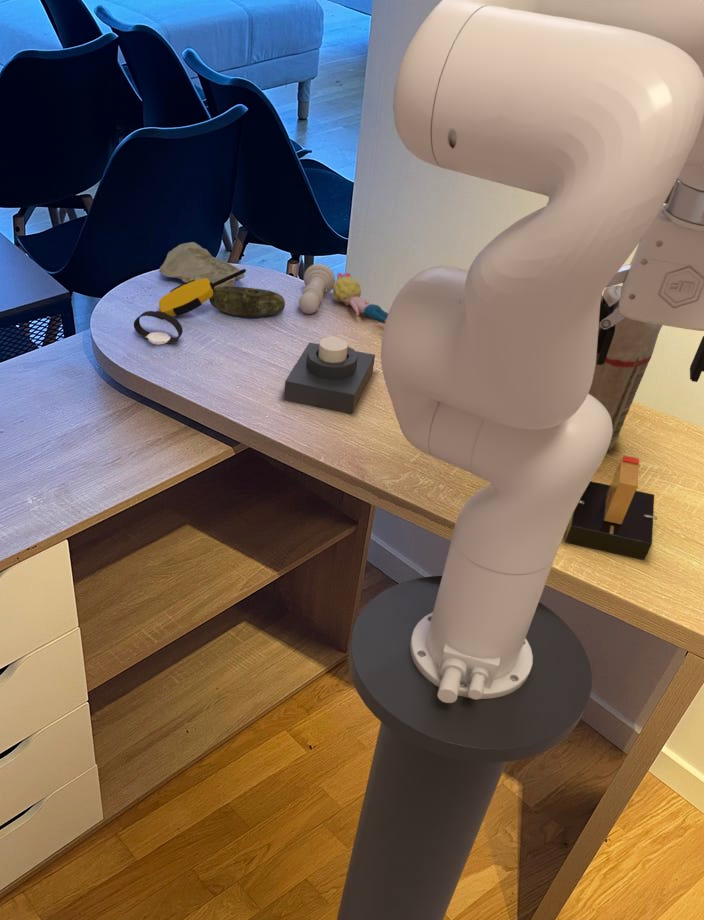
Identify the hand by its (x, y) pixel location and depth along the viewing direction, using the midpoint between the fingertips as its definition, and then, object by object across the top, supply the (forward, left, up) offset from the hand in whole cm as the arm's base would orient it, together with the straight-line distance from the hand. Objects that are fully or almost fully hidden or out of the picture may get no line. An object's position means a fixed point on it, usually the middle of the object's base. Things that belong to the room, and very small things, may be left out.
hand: (646, 367), depth 97 cm
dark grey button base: (+16, +38, -19) cm, 45 cm away
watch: (+21, +66, -16) cm, 71 cm away
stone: (+46, +66, -17) cm, 82 cm away
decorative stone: (+32, +56, -15) cm, 66 cm away
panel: (-3, -2, -19) cm, 19 cm away
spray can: (+16, +2, -19) cm, 25 cm away
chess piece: (+44, +48, -16) cm, 67 cm away
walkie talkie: (+27, +69, -18) cm, 77 cm away
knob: (-3, -2, -16) cm, 17 cm away
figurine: (+35, +32, -17) cm, 51 cm away
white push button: (+16, +38, -14) cm, 44 cm away
